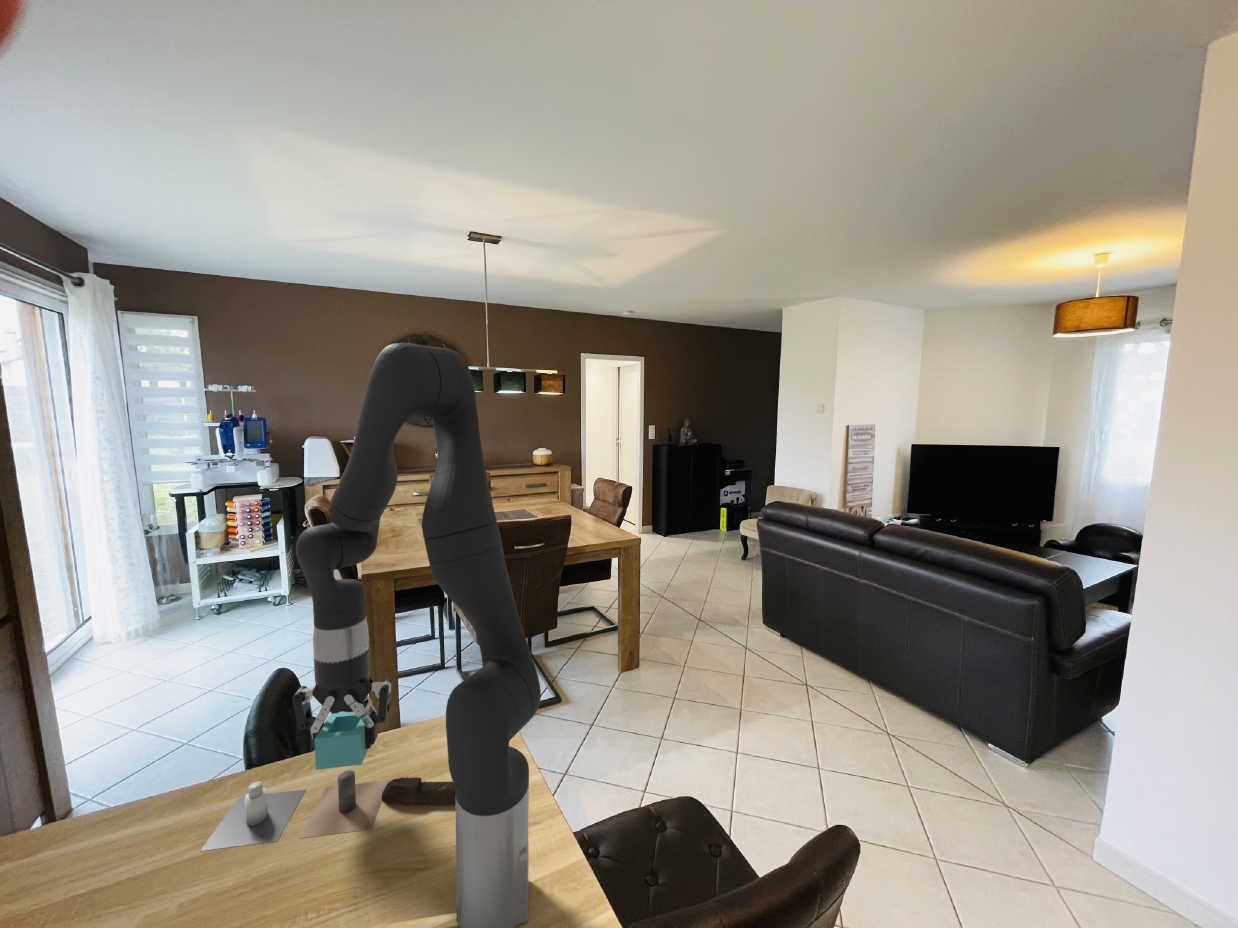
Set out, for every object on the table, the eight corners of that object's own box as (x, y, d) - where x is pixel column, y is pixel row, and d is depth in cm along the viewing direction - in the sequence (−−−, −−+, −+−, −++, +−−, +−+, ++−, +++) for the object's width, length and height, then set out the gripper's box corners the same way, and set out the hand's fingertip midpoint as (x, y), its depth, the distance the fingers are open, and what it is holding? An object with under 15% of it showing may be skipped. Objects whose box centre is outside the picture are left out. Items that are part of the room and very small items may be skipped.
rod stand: (389, 785, 85) (388, 750, 84) (371, 834, 75) (370, 796, 74) (326, 792, 83) (324, 757, 82) (299, 844, 73) (297, 804, 72)
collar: (373, 737, 81) (372, 709, 81) (361, 764, 75) (360, 734, 74) (332, 741, 80) (330, 712, 79) (315, 769, 74) (314, 738, 73)
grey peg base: (306, 794, 82) (305, 759, 81) (277, 846, 72) (275, 807, 72) (239, 802, 80) (237, 765, 79) (200, 856, 70) (197, 816, 70)
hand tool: (500, 794, 84) (500, 769, 83) (495, 813, 80) (495, 787, 79) (390, 793, 83) (389, 768, 83) (378, 812, 79) (378, 786, 79)
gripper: (278, 664, 71) (284, 770, 72) (384, 656, 73) (388, 758, 75) (301, 640, 78) (306, 737, 80) (397, 634, 81) (400, 727, 82)
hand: (346, 747), depth 77 cm, fingers closed on collar, 6 cm apart
